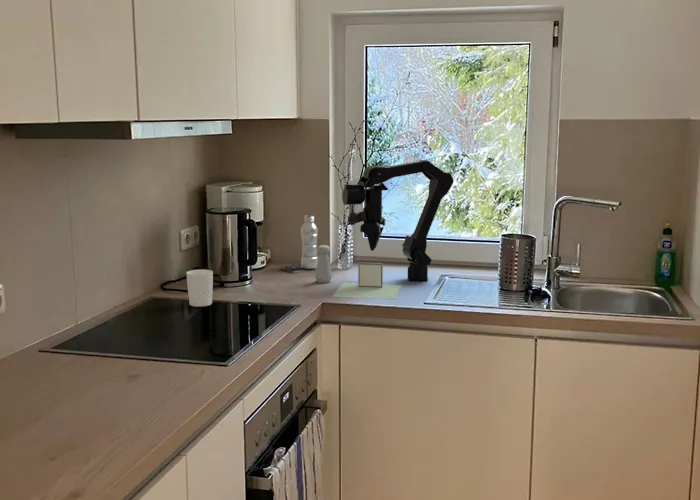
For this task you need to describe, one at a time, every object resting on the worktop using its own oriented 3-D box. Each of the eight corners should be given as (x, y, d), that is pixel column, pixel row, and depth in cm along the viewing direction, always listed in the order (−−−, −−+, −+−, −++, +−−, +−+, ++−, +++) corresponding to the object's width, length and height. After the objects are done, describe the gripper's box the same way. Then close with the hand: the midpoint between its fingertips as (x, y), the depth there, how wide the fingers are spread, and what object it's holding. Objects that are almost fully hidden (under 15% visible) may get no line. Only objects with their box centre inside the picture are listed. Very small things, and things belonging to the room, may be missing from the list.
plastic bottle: (318, 270, 280) (318, 217, 277) (300, 270, 280) (299, 217, 277) (319, 267, 287) (318, 215, 283) (301, 267, 287) (301, 215, 283)
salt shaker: (331, 284, 257) (331, 247, 254) (314, 284, 257) (314, 247, 254) (332, 281, 262) (332, 244, 260) (315, 280, 262) (315, 244, 260)
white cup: (185, 302, 232) (184, 270, 230) (210, 300, 235) (209, 268, 233) (190, 308, 224) (189, 275, 223) (216, 305, 228) (215, 273, 226)
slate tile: (382, 286, 252) (382, 263, 251) (382, 287, 250) (382, 264, 249) (359, 285, 253) (359, 262, 252) (358, 286, 252) (358, 263, 250)
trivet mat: (401, 286, 254) (401, 285, 254) (395, 300, 235) (395, 299, 235) (343, 284, 257) (343, 283, 257) (332, 297, 238) (332, 296, 238)
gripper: (354, 200, 263) (354, 244, 266) (345, 206, 245) (345, 253, 248) (385, 201, 262) (385, 245, 264) (379, 207, 243) (378, 254, 246)
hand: (373, 249), depth 256 cm, fingers open, 4 cm apart
